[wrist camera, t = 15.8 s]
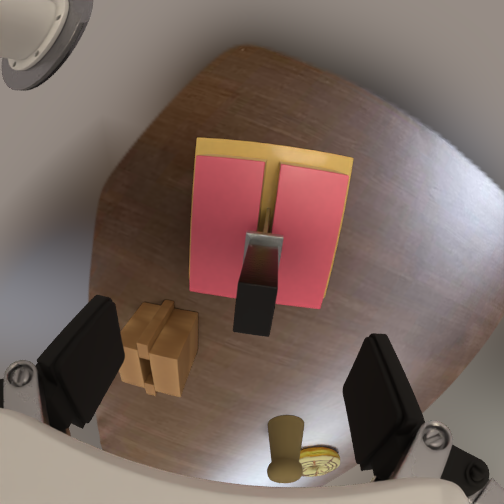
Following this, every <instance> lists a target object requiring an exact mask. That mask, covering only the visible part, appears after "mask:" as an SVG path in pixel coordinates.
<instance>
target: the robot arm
mask: <svg viewBox="0 0 504 504" xmlns="http://www.w3.org/2000/svg"><path fill="white" fill-rule="evenodd" d="M68 10H69V2H68V0H0V58H8V62H9V65H10V67H11V68H12V69H14V70H17V71H24V70H27V69H29V68H31V67H32V66H34V65H35V64H36V63H37V62H39V61H40V60H41V59H42V58H43V57H44V55H45V54H46V53H47V52H48V51H49V49H50V48H51V47H52V45H53V44H54V42H55V41H56V39H57V38H58V36H59V34H60V32H61V30H62V28H63V26H64V24H65V21H66V18H67V15H68ZM124 360H125V352H124V347H123V343H122V338H121V333H120V328H119V323H118V317H117V311H116V306H115V303H114V302H112V300H111V298H109V297H105V296H101V295H96V296H94V298H93V299H92V300H91V301H90V302H89V303H88V304H87V305H86V306H85V307H84V308H83V309H82V310H81V311H80V312H79V313H78V314H77V315H76V316H75V318H74V319H73V320H72V321H71V322H70V323H69V324H68V325H67V326H66V327H65V328H64V329H63V330H62V332H61V333H60V334H59V335H58V336H57V337H56V338H55V339H54V341H53V342H52V343H51V344H50V345H49V346H48V347H47V349H46V350H45V351H44V352H43V353H42V354H41V356H40V357H39V358H38V359H37V362H38V363H37V364H36V366H35V365H34V364H33V363H31V362H30V361H26V360H20V361H16V362H14V363H12V364H11V365H10V366H9V367H8V368H7V369H6V371H5V374H4V379H0V504H504V489H503V488H502V487H501V486H500V485H499V484H498V483H497V482H496V481H495V480H494V479H493V478H492V479H491V480H489V469H488V467H487V465H486V464H485V462H483V461H482V460H481V459H478V458H477V457H475V456H473V455H471V454H469V453H467V452H465V451H463V450H461V449H459V448H458V447H456V446H454V445H452V443H453V436H452V433H451V431H450V429H449V428H448V427H447V426H446V425H445V424H443V423H442V422H439V421H428V422H425V421H424V418H423V415H422V412H421V410H420V407H419V405H418V402H417V400H416V398H415V395H414V393H413V391H412V388H411V386H410V384H409V381H408V379H407V377H406V375H405V372H404V370H403V368H402V366H401V364H400V361H399V359H398V357H397V355H396V353H395V351H394V349H393V347H392V345H391V343H390V340H389V338H388V336H387V335H386V334H371V335H370V336H369V337H366V338H365V339H364V342H363V344H362V346H361V349H360V351H359V353H358V355H357V358H356V360H355V362H354V364H353V367H352V369H351V371H350V373H349V375H348V377H347V379H346V381H345V383H344V386H343V397H344V401H345V406H346V411H347V416H348V421H349V427H350V432H351V437H352V443H353V448H354V454H355V460H356V463H357V464H360V467H361V471H363V470H371V469H373V473H374V477H373V478H372V480H371V482H369V483H363V484H353V485H343V486H328V487H265V486H251V485H241V484H232V483H225V482H218V481H211V480H206V479H200V478H195V477H190V476H185V475H181V474H176V473H172V472H168V471H164V470H160V469H157V468H153V467H150V466H146V465H143V464H140V463H137V462H134V461H131V460H128V459H125V458H122V457H119V456H116V455H114V454H111V453H108V452H106V451H103V450H101V449H98V448H96V447H93V446H91V445H89V444H87V443H84V442H82V441H79V440H77V439H75V438H73V437H71V435H70V431H69V426H70V424H71V423H72V424H74V425H76V426H78V427H80V428H83V427H84V425H85V423H89V422H90V421H91V419H92V417H93V416H94V414H95V412H96V410H97V408H98V406H99V405H100V403H101V401H102V399H103V397H104V396H105V394H106V392H107V390H108V388H109V387H110V385H111V383H112V381H113V380H114V378H115V376H116V374H117V373H118V371H119V369H120V368H121V366H122V364H123V362H124Z"/></svg>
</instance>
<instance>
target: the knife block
mask: <svg viewBox="0 0 504 504" xmlns="http://www.w3.org/2000/svg"><path fill="white" fill-rule="evenodd" d="M120 333H121V338H122V343H123V347H124V352H125V360H124V362H123V364H122V366H121V368H120V369H119V372H120V376H121V379H122V381H123V382H126V383H130V384H133V385H136V386H139V387H143V388H145V389H146V393H147V394H150V395H153V396H156V395H157V392H161V393H165V394H169V395H173V396H177V397H181V395H182V392H183V389H184V386H185V383H186V381H187V378H188V375H189V373H190V370H191V367H192V364H193V362H194V359H195V356H196V354H197V351H198V313H197V312H192V311H186V310H181V309H176V308H175V309H174V301H170V300H164V302H163V303H162V305H161V306H160V305H155V304H151V303H146V302H143V303H142V304H141V306H140V307H139V308H138V310H137V311H136V312H135V313H134V315H133V316H132V317H131V319H130V320H129V321H128V323H127V324H126V325H125V327H124V328H123V329H122V331H121V332H120Z"/></svg>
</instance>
